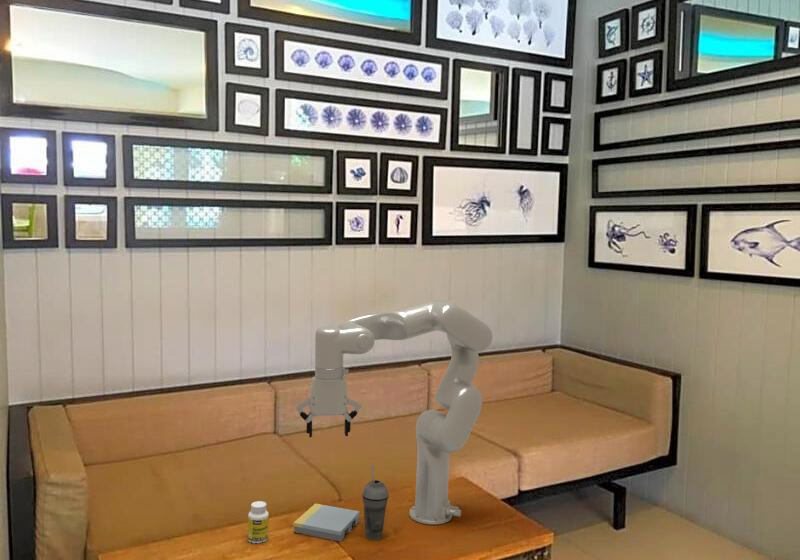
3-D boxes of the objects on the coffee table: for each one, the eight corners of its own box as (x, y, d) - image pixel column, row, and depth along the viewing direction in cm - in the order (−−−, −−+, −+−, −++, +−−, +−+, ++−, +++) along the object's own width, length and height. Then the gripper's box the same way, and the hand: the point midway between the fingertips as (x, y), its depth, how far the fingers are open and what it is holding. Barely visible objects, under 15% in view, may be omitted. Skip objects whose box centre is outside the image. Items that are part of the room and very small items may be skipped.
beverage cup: (383, 544, 179) (386, 471, 178) (357, 540, 181) (360, 468, 179) (389, 532, 187) (392, 462, 185) (364, 528, 188) (367, 459, 186)
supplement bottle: (250, 545, 175) (251, 509, 175) (245, 536, 180) (246, 501, 179) (270, 542, 178) (271, 506, 177) (264, 533, 183) (265, 498, 182)
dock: (359, 521, 192) (359, 511, 192) (340, 542, 179) (340, 531, 179) (315, 513, 197) (315, 503, 197) (293, 533, 183) (293, 522, 183)
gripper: (359, 369, 184) (359, 430, 185) (296, 370, 181) (296, 431, 183) (362, 375, 177) (361, 438, 178) (296, 376, 174) (296, 440, 175)
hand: (328, 435), depth 180 cm, fingers open, 9 cm apart
